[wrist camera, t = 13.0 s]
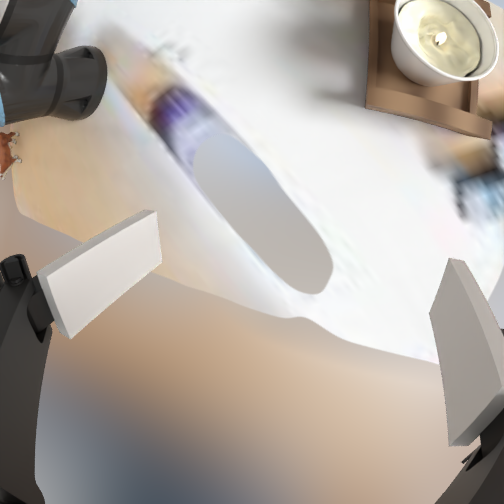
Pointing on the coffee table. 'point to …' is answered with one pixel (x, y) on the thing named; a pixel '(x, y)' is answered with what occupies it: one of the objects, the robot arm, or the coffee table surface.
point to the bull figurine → (6, 153)
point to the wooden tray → (412, 94)
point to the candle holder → (443, 41)
